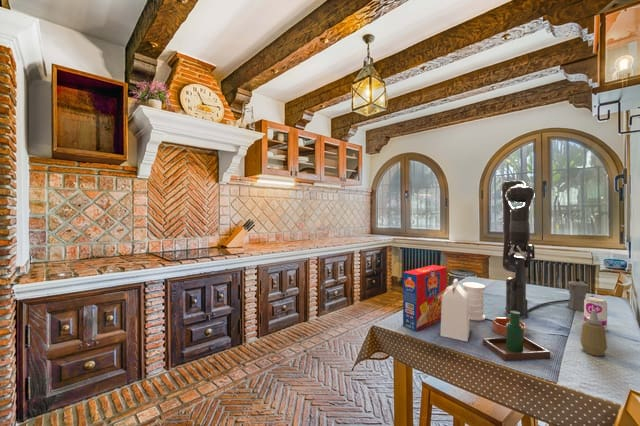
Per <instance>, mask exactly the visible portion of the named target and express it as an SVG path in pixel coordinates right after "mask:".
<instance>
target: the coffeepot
mask: <svg viewBox="0 0 640 426" xmlns="http://www.w3.org/2000/svg"><path fill="white" fill-rule="evenodd" d="M567 286H568V291H569V299H568V300H569V301H568V302H567V308H568V309H570V310H573V311H576V312H577V311H578V312H584V300H585V297H587V291H588V287H589V284H588V283H587V281H586V280H583V281H580V278H575V281H574V280H573V281H567Z"/></svg>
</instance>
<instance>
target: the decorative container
mask: <svg viewBox="0 0 640 426" xmlns="http://www.w3.org/2000/svg"><path fill="white" fill-rule="evenodd" d="M462 288H463V290H465V291H466V293H467V294H468V302H469V320H471V321H484V320H486V315H485V314H484V313H485V310H484V307H485V304H484V300H485V298H484V295H485V291H484V290H485V289H486V286H485V285H484V284H483V283H478V282H472V281H471V282H470V281H469V282H467V281H466V282H463V283H462Z"/></svg>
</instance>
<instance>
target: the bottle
mask: <svg viewBox="0 0 640 426" xmlns="http://www.w3.org/2000/svg"><path fill="white" fill-rule="evenodd" d="M509 318H510V322H508V324H506V336H505V337H506V348H507V349H508V350H510V351H512V352H516V353H518V352H523V327H522V326H521V324H520V322H521V318H520V313H519V312H517V311H510V316H509Z"/></svg>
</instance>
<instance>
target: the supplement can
mask: <svg viewBox="0 0 640 426" xmlns="http://www.w3.org/2000/svg"><path fill="white" fill-rule="evenodd" d="M585 297H586V298H585V300H584V311H583V323H584V322H587V321H586V318H587V317H590V315H591V312H592V310H596V312H597V316H598V319H600V320H602V324H601V325H603V326H604V327H605V331H607V330H608V302H607V301H606V299H604V298H601V297H597V296H596V297H595V296H594V297H589V296H585Z"/></svg>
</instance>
